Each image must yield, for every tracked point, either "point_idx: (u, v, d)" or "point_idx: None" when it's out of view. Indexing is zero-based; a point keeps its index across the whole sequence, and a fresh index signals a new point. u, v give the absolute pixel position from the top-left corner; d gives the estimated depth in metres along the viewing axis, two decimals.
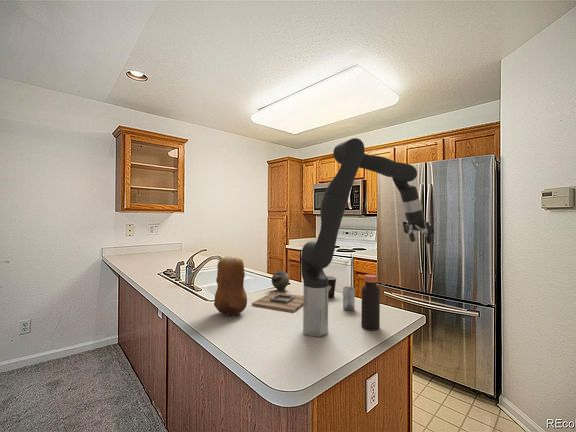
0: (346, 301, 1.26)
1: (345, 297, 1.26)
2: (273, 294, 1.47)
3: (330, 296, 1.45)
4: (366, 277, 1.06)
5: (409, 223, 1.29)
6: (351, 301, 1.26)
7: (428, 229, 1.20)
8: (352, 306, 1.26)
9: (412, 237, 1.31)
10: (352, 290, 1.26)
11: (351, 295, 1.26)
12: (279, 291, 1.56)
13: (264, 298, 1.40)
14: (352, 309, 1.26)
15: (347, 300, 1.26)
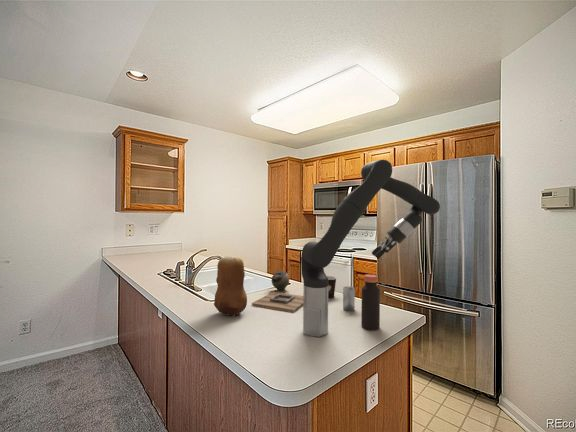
0: (346, 301, 1.26)
1: (345, 297, 1.26)
2: (273, 294, 1.47)
3: (330, 296, 1.45)
4: (366, 277, 1.06)
5: (386, 238, 1.29)
6: (351, 301, 1.26)
7: (387, 244, 1.20)
8: (352, 306, 1.26)
9: (375, 250, 1.31)
10: (352, 290, 1.26)
11: (351, 295, 1.26)
12: (279, 291, 1.56)
13: (264, 298, 1.40)
14: (352, 309, 1.26)
15: (347, 300, 1.26)
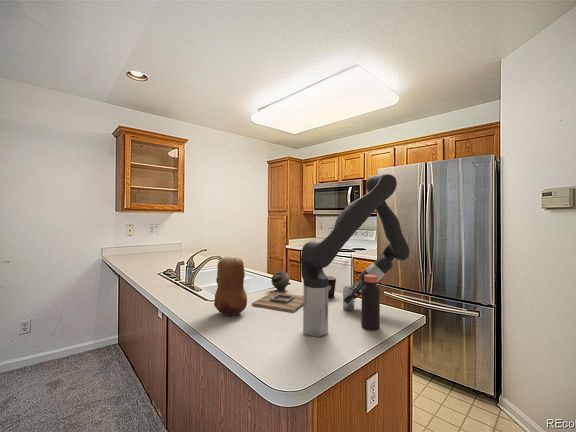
0: None
1: (345, 297, 1.26)
2: (273, 294, 1.47)
3: (330, 296, 1.45)
4: (366, 277, 1.06)
5: (358, 281, 1.30)
6: (351, 301, 1.26)
7: (355, 291, 1.22)
8: (352, 306, 1.26)
9: None
10: None
11: None
12: (279, 291, 1.56)
13: (264, 298, 1.40)
14: (352, 309, 1.26)
15: None
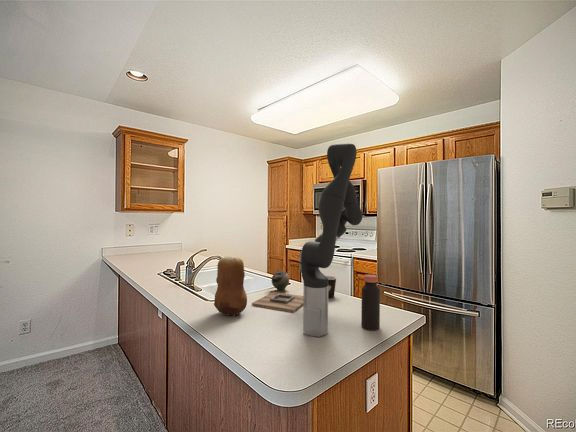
0: None
1: None
2: (273, 294, 1.47)
3: (330, 296, 1.45)
4: (366, 277, 1.06)
5: None
6: None
7: None
8: None
9: None
10: None
11: None
12: (279, 291, 1.56)
13: (264, 298, 1.40)
14: None
15: None
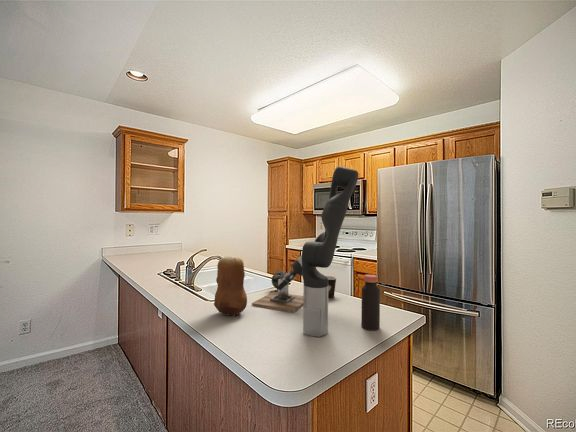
0: (279, 291, 1.35)
1: None
2: (273, 294, 1.47)
3: (330, 296, 1.45)
4: (366, 277, 1.06)
5: None
6: (284, 292, 1.35)
7: (286, 277, 1.31)
8: (285, 297, 1.35)
9: None
10: None
11: (284, 286, 1.35)
12: None
13: (264, 298, 1.40)
14: (285, 299, 1.35)
15: (280, 291, 1.35)
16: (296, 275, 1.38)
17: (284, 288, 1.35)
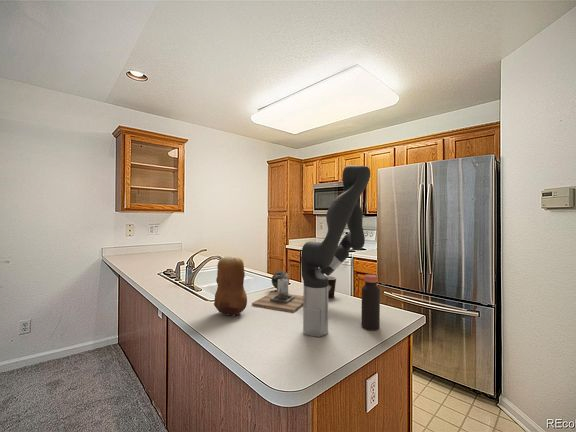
0: (279, 291, 1.36)
1: (278, 288, 1.36)
2: (273, 294, 1.47)
3: (330, 296, 1.45)
4: (366, 277, 1.06)
5: (318, 270, 1.38)
6: (284, 292, 1.35)
7: None
8: (285, 296, 1.35)
9: None
10: (285, 282, 1.35)
11: (284, 286, 1.35)
12: None
13: (264, 298, 1.40)
14: (285, 299, 1.35)
15: (280, 291, 1.35)
16: None
17: (284, 288, 1.35)
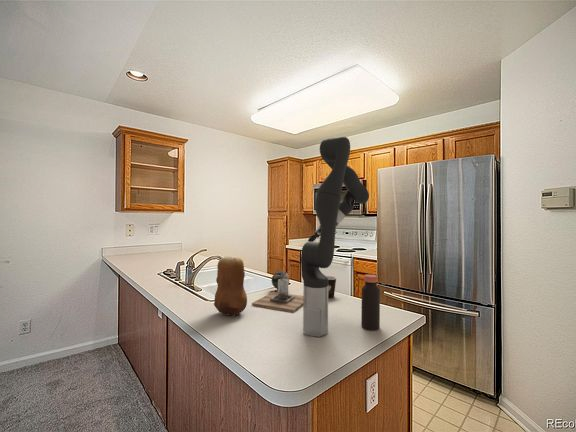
0: (279, 291, 1.36)
1: (279, 288, 1.36)
2: (273, 294, 1.47)
3: (330, 296, 1.45)
4: (366, 277, 1.06)
5: None
6: (284, 292, 1.35)
7: (318, 229, 1.29)
8: (285, 297, 1.35)
9: None
10: (285, 282, 1.35)
11: (284, 286, 1.35)
12: None
13: (264, 298, 1.40)
14: (285, 299, 1.35)
15: (280, 291, 1.35)
16: None
17: (284, 288, 1.35)
